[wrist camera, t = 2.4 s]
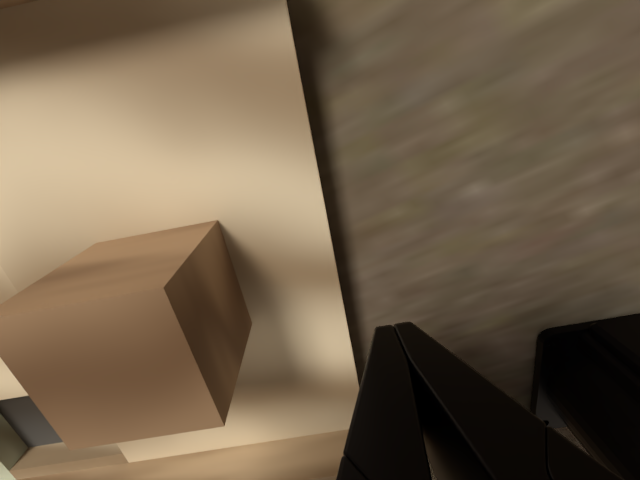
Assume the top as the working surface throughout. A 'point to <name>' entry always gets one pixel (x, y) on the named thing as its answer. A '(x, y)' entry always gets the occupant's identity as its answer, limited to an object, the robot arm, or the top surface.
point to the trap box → (176, 215)
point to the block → (131, 337)
